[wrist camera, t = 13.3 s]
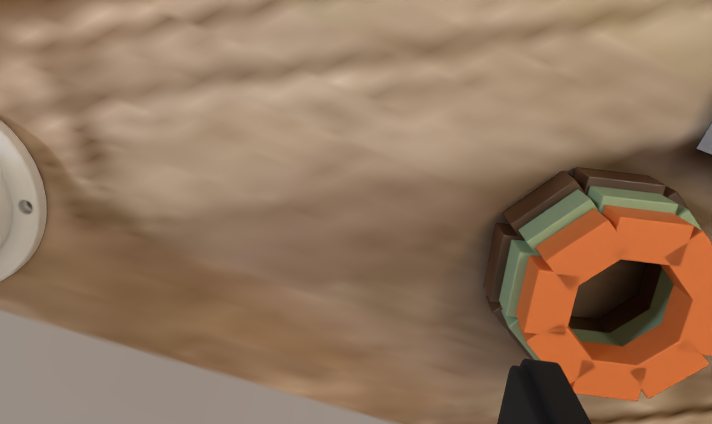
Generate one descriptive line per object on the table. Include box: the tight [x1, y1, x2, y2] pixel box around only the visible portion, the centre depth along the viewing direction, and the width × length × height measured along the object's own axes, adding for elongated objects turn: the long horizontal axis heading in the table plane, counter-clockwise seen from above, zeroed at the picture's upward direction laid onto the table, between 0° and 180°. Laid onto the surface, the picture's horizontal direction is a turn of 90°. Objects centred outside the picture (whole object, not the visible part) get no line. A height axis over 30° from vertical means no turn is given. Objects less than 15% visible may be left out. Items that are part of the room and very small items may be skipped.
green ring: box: [499, 186, 703, 361], centre depth 32 cm, size 11×11×2 cm
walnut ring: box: [484, 167, 689, 360], centre depth 34 cm, size 12×12×2 cm
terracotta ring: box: [516, 205, 712, 401], centre depth 30 cm, size 10×10×2 cm
